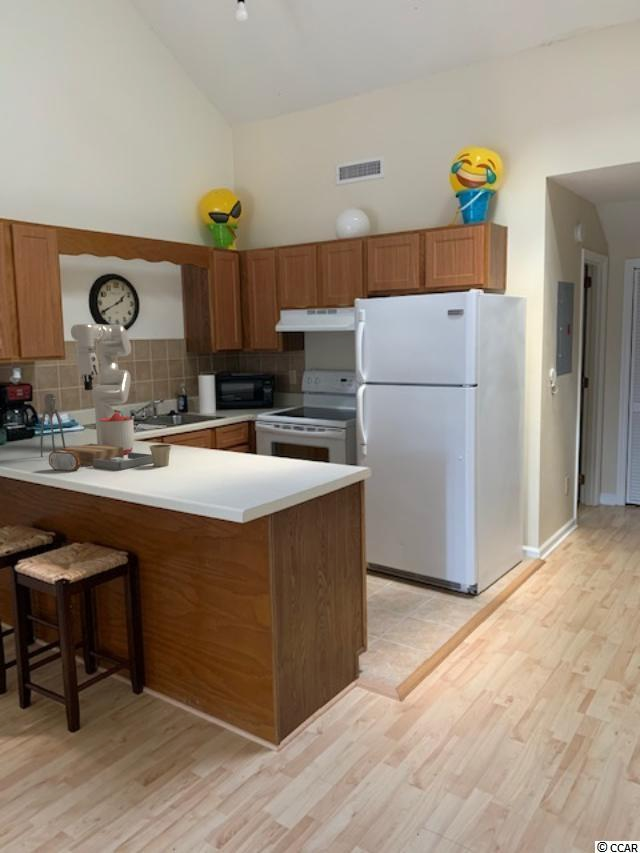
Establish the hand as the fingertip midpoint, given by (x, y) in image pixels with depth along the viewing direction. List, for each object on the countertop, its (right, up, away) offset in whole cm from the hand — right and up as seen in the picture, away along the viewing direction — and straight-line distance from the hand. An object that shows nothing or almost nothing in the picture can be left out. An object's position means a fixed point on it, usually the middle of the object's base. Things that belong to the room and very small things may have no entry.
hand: (88, 389), depth 315 cm
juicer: (-18, -32, +1) cm, 37 cm away
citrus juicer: (+13, -30, +7) cm, 34 cm away
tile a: (+25, -32, -25) cm, 47 cm away
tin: (+2, -36, -33) cm, 49 cm away
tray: (+24, -34, -24) cm, 48 cm away
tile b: (+20, -31, -21) cm, 43 cm away
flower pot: (+41, -34, -28) cm, 60 cm away
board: (+6, -33, -13) cm, 36 cm away
